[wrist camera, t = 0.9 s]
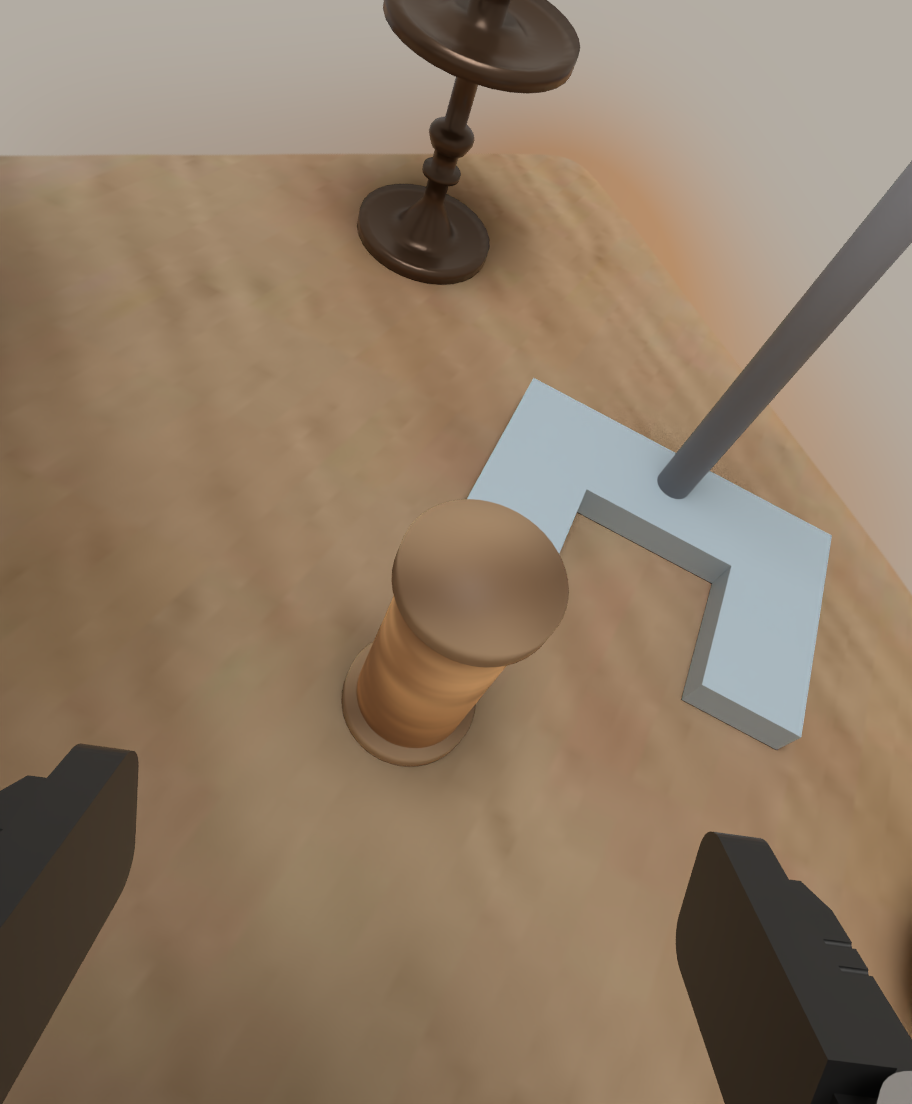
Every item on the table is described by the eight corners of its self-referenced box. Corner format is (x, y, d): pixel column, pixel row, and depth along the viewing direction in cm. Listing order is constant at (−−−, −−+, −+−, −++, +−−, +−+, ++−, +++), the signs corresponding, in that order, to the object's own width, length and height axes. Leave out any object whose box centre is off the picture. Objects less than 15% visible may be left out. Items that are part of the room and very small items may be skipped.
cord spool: (321, 664, 36) (369, 521, 26) (436, 626, 39) (518, 483, 29) (373, 787, 34) (446, 680, 24) (490, 737, 37) (599, 623, 27)
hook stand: (430, 566, 41) (790, -169, 16) (522, 400, 49) (853, -256, 24) (776, 750, 41) (1661, 290, 16) (810, 552, 49) (1432, 48, 24)
